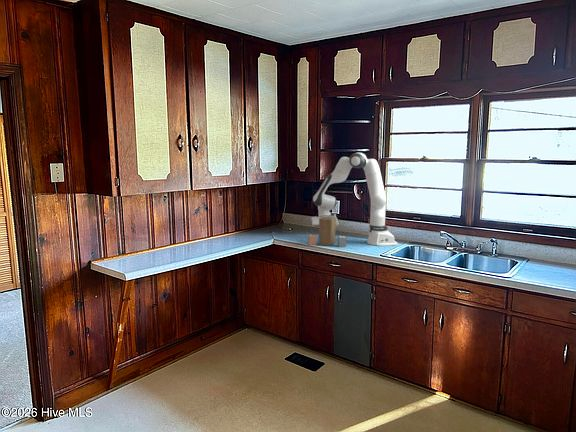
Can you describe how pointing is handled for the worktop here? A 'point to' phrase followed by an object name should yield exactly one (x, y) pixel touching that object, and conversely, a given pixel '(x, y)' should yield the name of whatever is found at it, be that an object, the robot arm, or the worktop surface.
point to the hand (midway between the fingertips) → (325, 231)
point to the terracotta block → (312, 239)
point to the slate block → (341, 241)
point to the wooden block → (327, 231)
